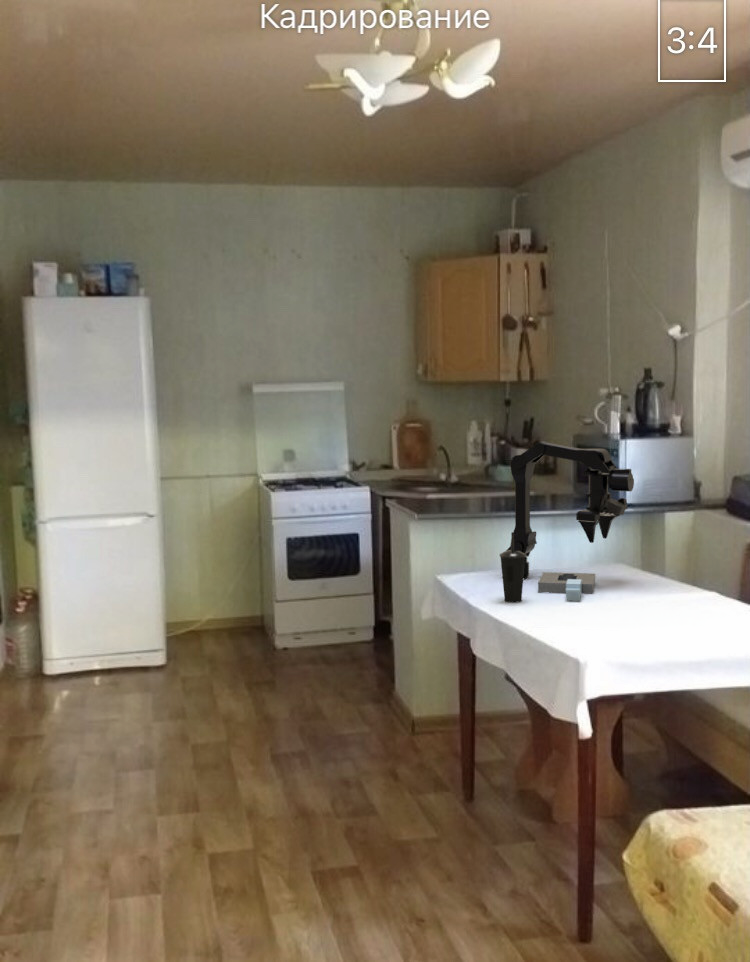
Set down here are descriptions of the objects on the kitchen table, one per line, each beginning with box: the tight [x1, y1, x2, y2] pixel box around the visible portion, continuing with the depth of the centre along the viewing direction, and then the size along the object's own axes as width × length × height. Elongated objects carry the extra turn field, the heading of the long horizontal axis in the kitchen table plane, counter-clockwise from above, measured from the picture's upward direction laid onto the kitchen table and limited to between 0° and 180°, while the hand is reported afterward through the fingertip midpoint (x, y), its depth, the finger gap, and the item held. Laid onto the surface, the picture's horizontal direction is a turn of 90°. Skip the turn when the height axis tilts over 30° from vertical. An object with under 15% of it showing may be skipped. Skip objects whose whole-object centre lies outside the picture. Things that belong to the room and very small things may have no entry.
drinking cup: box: [499, 531, 526, 603], centre depth 302 cm, size 8×8×20 cm
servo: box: [565, 579, 583, 602], centre depth 305 cm, size 4×10×5 cm, turn 165°
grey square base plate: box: [537, 571, 596, 595], centre depth 319 cm, size 16×16×3 cm
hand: (598, 540), depth 321 cm, fingers open, 9 cm apart
